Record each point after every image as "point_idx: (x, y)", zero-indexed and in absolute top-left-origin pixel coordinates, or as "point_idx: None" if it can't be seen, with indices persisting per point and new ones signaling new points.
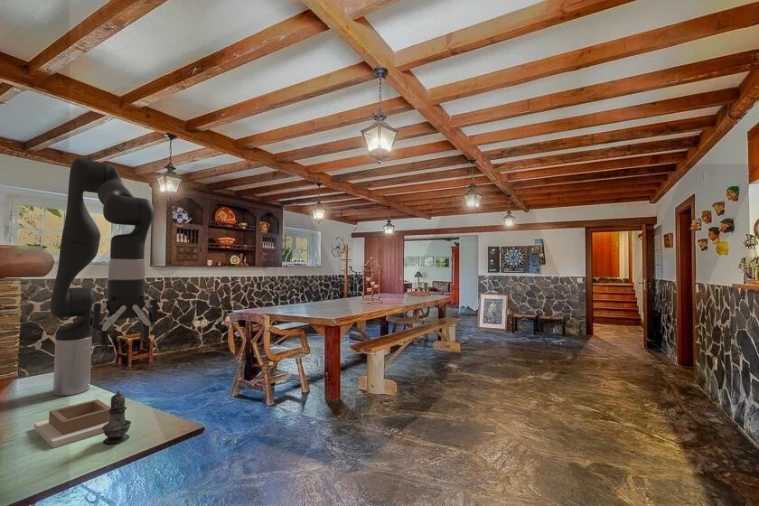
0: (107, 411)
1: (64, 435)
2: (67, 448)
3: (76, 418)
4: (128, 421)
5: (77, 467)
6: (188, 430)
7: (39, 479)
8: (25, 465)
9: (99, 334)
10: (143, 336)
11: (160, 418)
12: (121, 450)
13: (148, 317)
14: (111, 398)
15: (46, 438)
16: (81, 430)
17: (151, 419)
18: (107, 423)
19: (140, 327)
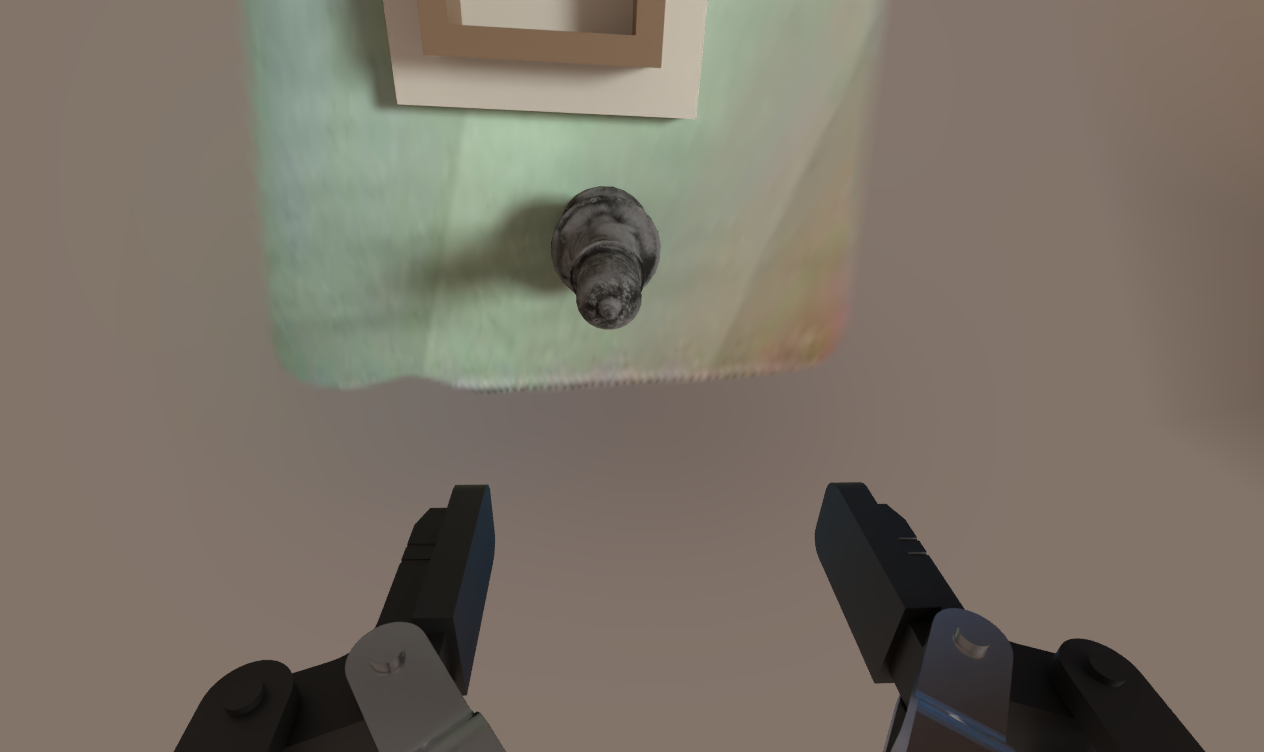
0: (634, 66)
1: (445, 72)
2: (451, 156)
3: (486, 54)
4: (649, 260)
5: (449, 336)
6: (798, 360)
7: (350, 326)
8: (313, 186)
9: (396, 609)
10: (830, 572)
11: (822, 164)
12: (582, 329)
13: (1085, 705)
14: (577, 297)
15: None
16: (515, 73)
17: (794, 140)
18: (585, 203)
19: (891, 589)
